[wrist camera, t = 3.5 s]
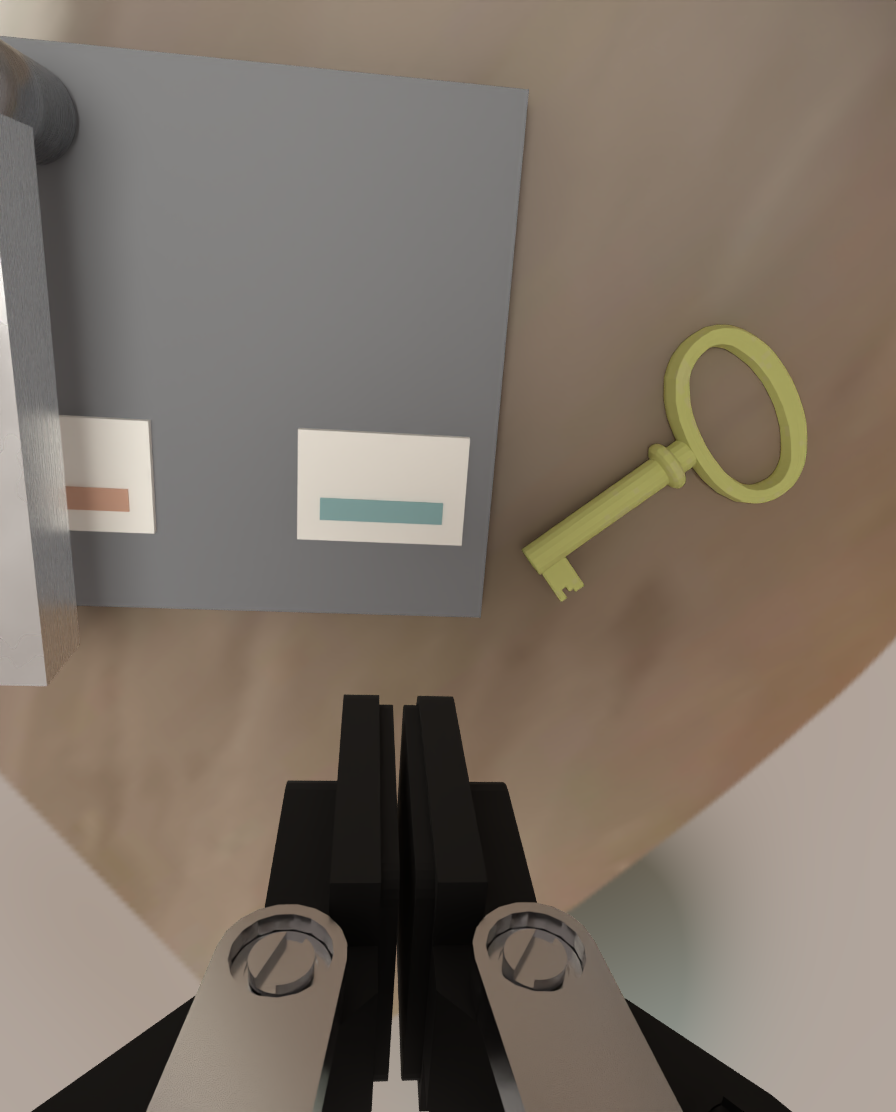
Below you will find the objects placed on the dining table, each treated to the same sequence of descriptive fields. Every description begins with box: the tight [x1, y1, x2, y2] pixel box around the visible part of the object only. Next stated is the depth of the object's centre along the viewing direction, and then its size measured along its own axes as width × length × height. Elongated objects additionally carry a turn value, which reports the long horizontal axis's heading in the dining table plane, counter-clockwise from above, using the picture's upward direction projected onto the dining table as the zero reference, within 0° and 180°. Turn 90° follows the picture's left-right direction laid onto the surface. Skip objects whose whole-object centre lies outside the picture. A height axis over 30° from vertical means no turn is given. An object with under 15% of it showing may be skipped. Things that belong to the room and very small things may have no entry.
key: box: [522, 325, 807, 602], centre depth 31 cm, size 7×12×2 cm, turn 142°
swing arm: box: [0, 39, 80, 686], centre depth 23 cm, size 3×17×6 cm, turn 176°
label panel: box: [0, 36, 529, 618], centre depth 27 cm, size 20×18×2 cm
